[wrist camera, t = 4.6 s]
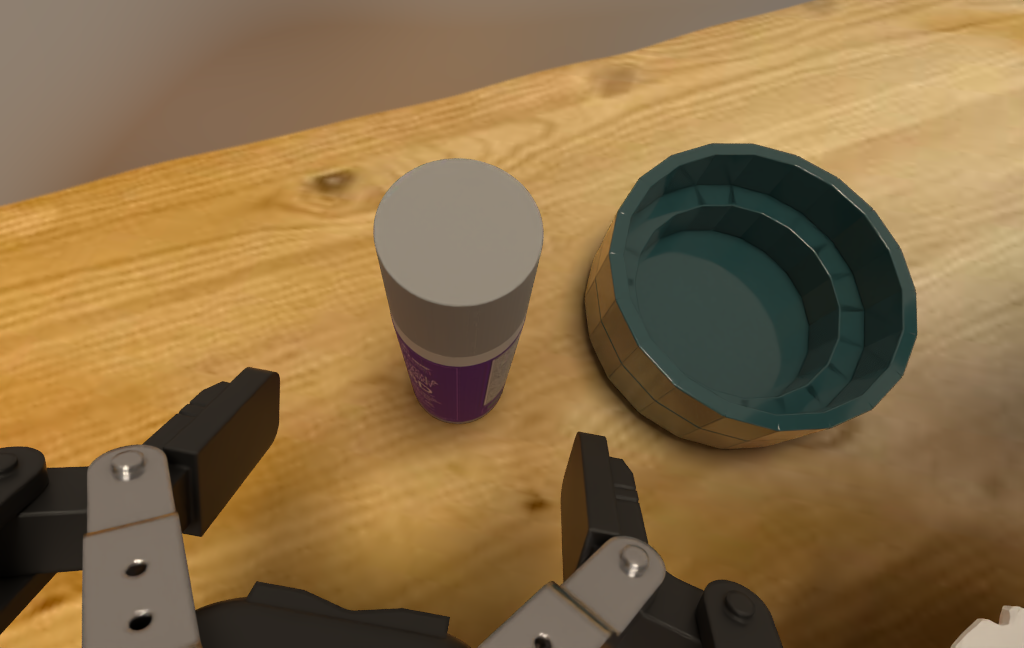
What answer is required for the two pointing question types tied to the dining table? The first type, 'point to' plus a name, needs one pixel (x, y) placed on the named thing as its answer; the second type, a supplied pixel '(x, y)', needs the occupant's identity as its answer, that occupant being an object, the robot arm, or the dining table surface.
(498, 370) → the container
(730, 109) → the dining table surface
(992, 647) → the bowl
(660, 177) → the bowl
